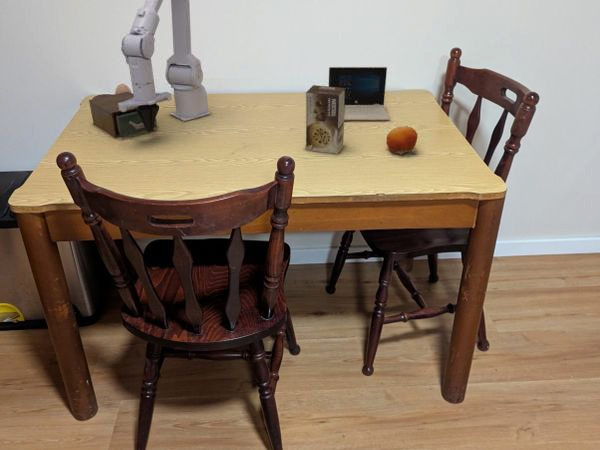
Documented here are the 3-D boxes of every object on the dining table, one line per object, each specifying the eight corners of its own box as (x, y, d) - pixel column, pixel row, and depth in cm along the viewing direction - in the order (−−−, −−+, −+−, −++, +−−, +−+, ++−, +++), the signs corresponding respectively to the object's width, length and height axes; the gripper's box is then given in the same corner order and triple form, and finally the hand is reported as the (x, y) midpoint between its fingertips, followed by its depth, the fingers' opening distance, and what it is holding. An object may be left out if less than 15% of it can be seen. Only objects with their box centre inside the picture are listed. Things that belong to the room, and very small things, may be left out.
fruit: (402, 156, 143) (395, 126, 143) (385, 161, 150) (379, 132, 150) (427, 150, 146) (420, 120, 146) (410, 155, 154) (403, 127, 153)
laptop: (330, 121, 169) (331, 78, 162) (327, 107, 179) (328, 66, 173) (389, 121, 169) (393, 78, 162) (383, 107, 180) (387, 66, 173)
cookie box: (343, 145, 153) (346, 87, 145) (337, 154, 148) (340, 95, 139) (312, 141, 155) (313, 84, 147) (304, 150, 150) (305, 91, 142)
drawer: (166, 132, 158) (163, 113, 155) (129, 142, 152) (126, 122, 149) (135, 115, 170) (132, 97, 167) (100, 124, 164) (96, 105, 161)
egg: (113, 105, 180) (109, 84, 177) (125, 101, 184) (122, 80, 180) (124, 108, 178) (121, 87, 174) (136, 103, 182) (133, 83, 178)
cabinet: (155, 127, 164) (151, 102, 160) (115, 138, 157) (111, 112, 153) (131, 114, 173) (128, 91, 169) (93, 124, 166) (88, 99, 162)
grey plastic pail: (134, 119, 164) (132, 106, 162) (143, 124, 161) (141, 111, 159) (117, 123, 161) (115, 111, 159) (126, 128, 158) (124, 116, 156)
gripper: (124, 91, 139) (132, 141, 146) (175, 79, 148) (180, 128, 155) (111, 84, 144) (120, 134, 151) (161, 74, 152) (167, 121, 159)
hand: (149, 130), depth 153 cm, fingers closed, pressing on drawer
